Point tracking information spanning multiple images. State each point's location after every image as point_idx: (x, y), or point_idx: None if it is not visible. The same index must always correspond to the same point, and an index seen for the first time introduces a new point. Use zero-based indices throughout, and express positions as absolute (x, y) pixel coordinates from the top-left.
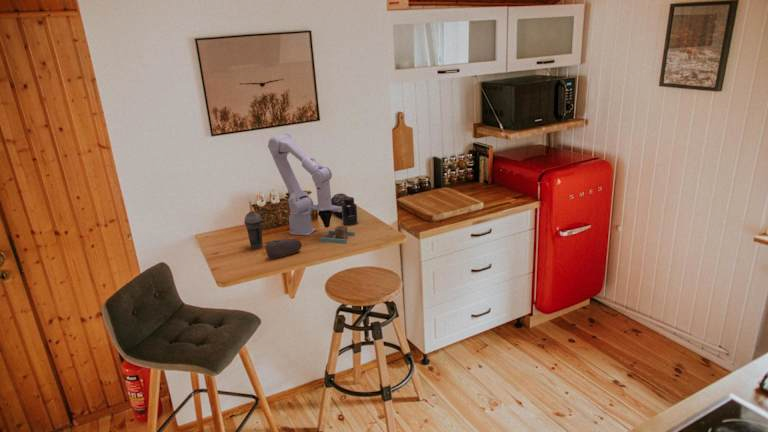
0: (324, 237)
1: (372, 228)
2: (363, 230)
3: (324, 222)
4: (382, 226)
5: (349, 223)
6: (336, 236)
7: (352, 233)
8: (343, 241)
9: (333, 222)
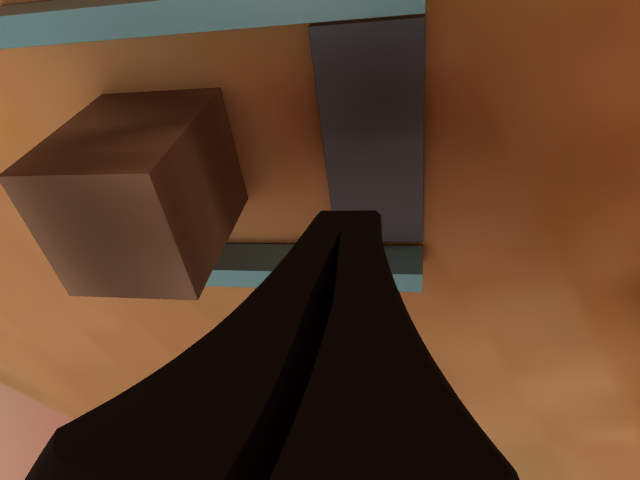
0: (415, 118)
1: (110, 387)
2: (141, 353)
3: (346, 270)
4: (78, 415)
5: None
6: (181, 111)
7: None
8: (16, 10)
9: None
